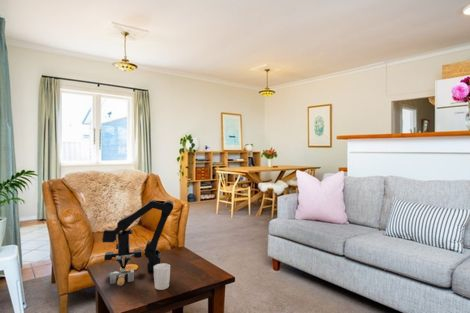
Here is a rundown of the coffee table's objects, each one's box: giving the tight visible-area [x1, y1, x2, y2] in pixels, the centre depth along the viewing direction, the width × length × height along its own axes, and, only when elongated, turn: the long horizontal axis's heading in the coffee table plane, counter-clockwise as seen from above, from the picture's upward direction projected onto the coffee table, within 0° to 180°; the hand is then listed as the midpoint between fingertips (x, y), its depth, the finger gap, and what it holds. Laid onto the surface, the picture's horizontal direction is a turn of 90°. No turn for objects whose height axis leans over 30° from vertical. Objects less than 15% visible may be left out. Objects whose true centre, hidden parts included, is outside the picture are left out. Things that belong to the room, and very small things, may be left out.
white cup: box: [153, 262, 171, 291], centre depth 146 cm, size 8×8×10 cm
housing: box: [109, 269, 135, 285], centre depth 154 cm, size 11×6×5 cm, turn 106°
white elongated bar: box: [116, 267, 127, 287], centre depth 154 cm, size 16×3×3 cm, turn 16°
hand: (123, 270), depth 163 cm, fingers closed, pressing on white elongated bar
